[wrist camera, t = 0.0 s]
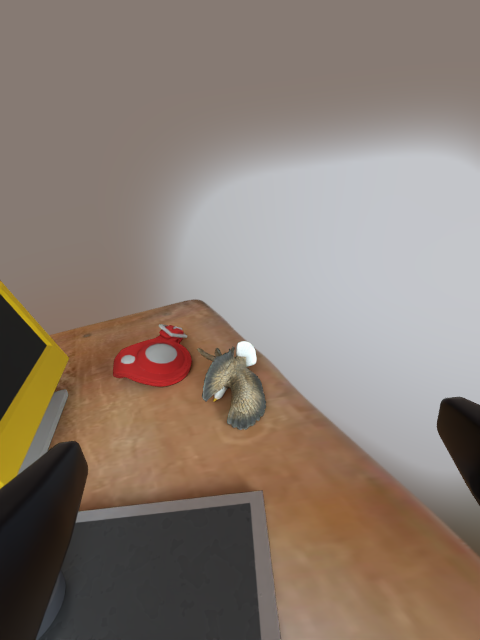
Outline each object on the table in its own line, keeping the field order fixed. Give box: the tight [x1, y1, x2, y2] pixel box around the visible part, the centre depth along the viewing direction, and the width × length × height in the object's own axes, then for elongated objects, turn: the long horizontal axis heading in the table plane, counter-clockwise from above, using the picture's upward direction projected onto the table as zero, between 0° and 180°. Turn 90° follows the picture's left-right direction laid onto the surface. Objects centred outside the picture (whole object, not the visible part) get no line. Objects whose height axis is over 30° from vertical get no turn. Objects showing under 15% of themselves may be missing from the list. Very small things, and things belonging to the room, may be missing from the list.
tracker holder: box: [113, 324, 192, 387], centre depth 43 cm, size 12×4×10 cm
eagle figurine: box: [197, 341, 266, 430], centre depth 34 cm, size 8×7×9 cm
